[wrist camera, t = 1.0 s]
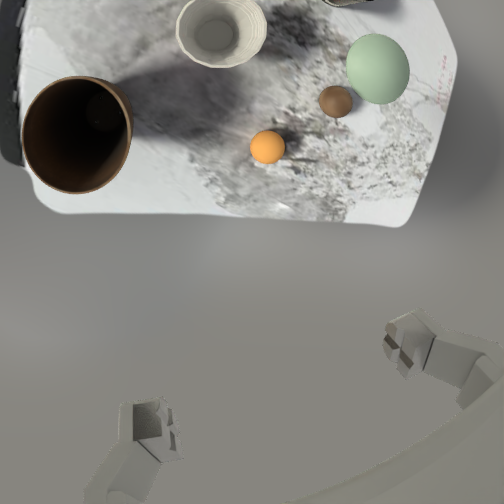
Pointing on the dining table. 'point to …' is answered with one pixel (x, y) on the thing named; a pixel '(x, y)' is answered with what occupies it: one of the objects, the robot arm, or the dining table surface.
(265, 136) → the orange ball
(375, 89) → the sage mark
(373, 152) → the dining table surface
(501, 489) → the robot arm
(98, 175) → the plant pot
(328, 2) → the supplement container
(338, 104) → the walnut ball
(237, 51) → the plastic cup
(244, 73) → the dining table surface
